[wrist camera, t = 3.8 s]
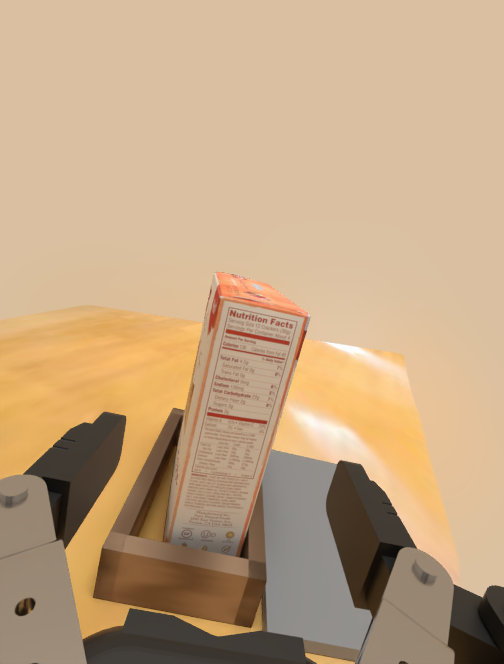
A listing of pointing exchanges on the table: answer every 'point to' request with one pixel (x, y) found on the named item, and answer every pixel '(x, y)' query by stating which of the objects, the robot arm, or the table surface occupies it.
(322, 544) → the flat gray rectangular board
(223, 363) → the cracker box
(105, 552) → the walnut collar
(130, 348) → the table surface
